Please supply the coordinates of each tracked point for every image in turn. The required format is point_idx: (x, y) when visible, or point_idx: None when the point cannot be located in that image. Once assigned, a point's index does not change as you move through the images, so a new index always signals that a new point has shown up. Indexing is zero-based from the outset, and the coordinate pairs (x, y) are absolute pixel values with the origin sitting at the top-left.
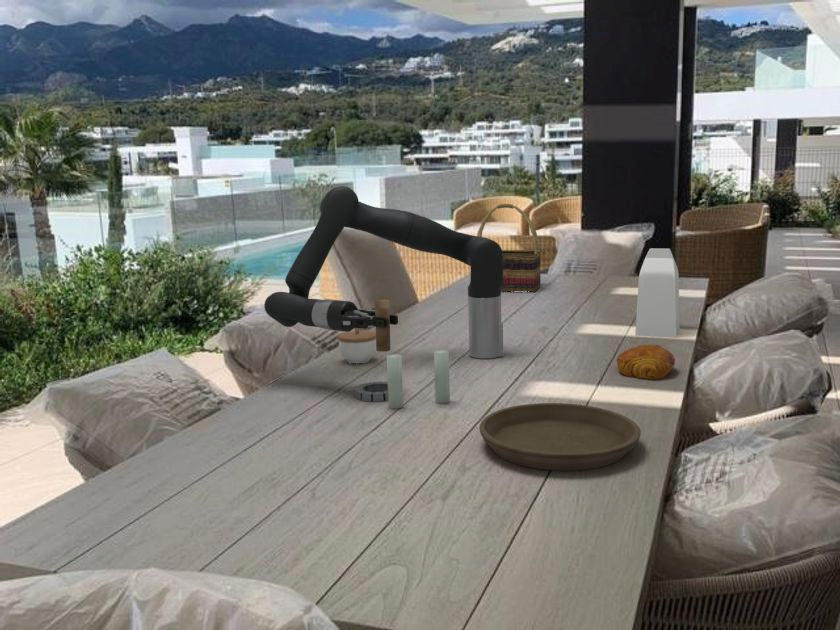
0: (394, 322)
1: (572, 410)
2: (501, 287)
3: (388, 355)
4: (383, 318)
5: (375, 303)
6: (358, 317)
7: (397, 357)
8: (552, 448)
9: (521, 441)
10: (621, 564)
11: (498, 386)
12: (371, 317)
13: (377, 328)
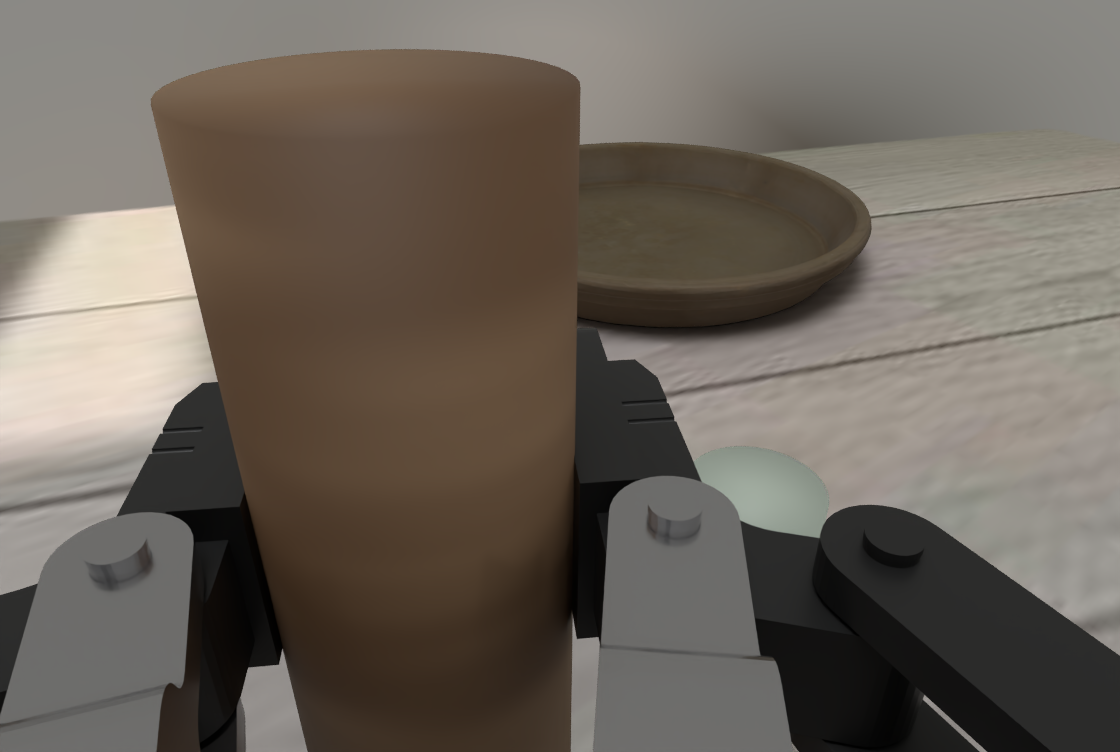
0: None
1: None
2: None
3: (777, 529)
4: (602, 352)
5: (553, 172)
6: (1033, 707)
7: (765, 450)
8: (697, 236)
9: (713, 272)
10: (963, 143)
11: (49, 539)
12: (716, 490)
13: (568, 649)
